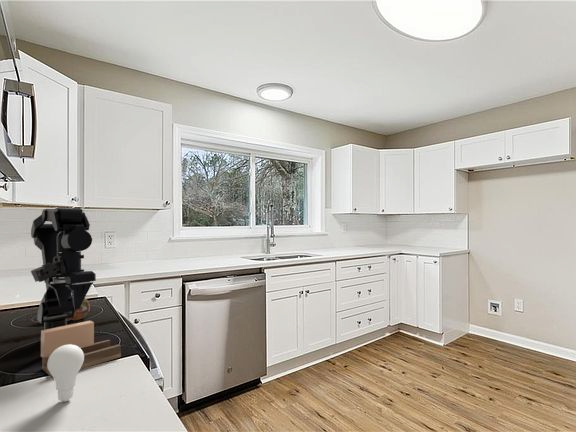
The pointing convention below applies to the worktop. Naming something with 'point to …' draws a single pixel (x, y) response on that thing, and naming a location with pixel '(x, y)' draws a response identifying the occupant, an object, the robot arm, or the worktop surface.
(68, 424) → the worktop surface
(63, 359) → the lightbulb
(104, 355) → the track
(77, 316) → the tin
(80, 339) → the tan rectangular block
